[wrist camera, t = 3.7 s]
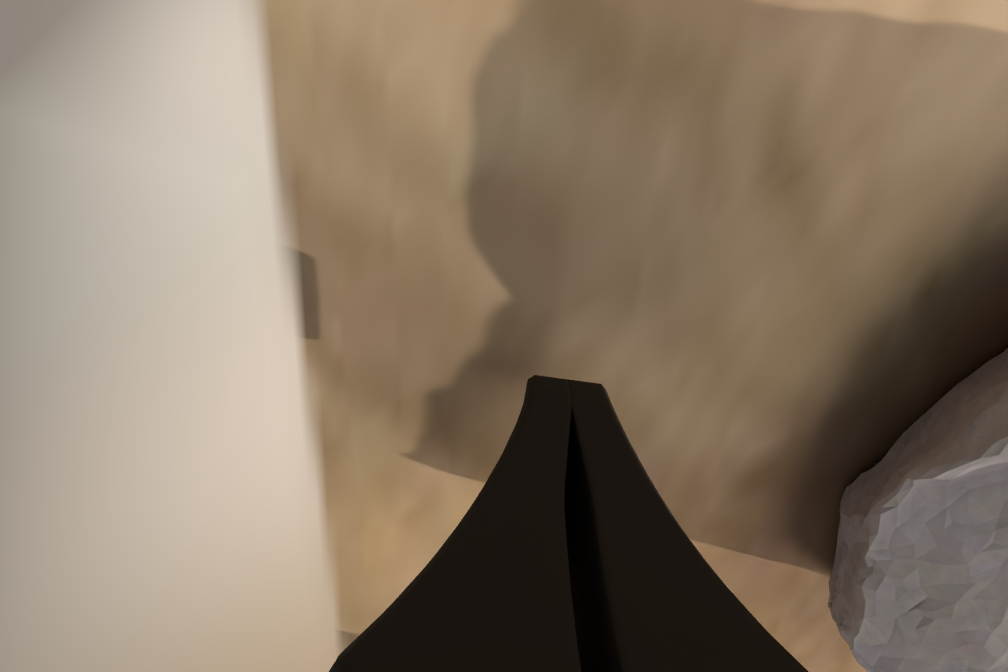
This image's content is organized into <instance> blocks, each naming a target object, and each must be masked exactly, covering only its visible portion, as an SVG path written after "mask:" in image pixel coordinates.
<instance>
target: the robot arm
mask: <svg viewBox="0 0 1008 672" xmlns="http://www.w3.org/2000/svg"><path fill="white" fill-rule="evenodd" d="M329 672H808V671H807V670H806V669H805V668H804V667H803V666H802V665H801V664H800V663H799V662H798V661H797V660H796V659H795V658H794V657H793V656H792V655H791V654H790V653H789V652H788V651H787V650H786V649H785V648H784V647H783V646H782V645H781V644H780V643H779V642H778V641H777V640H776V639H774V638H773V637H772V636H771V635H770V634H769V633H768V632H767V630H766V629H765V628H764V627H763V626H762V625H761V624H760V623H759V622H758V621H757V620H756V619H755V617H754V616H753V615H752V614H751V613H750V612H749V611H748V610H747V609H746V607H745V606H744V605H743V604H742V603H741V602H740V601H739V600H738V599H737V598H736V596H735V595H734V594H733V593H732V592H731V591H730V590H729V589H728V588H727V587H726V585H725V584H724V583H723V582H722V580H721V579H720V578H719V577H718V576H717V574H716V573H715V572H714V571H713V569H712V568H711V567H710V566H709V564H708V563H707V562H706V561H705V559H704V558H703V557H702V555H701V554H700V553H699V551H698V550H697V549H696V547H695V546H694V545H693V543H692V542H691V541H690V539H689V538H688V537H687V535H686V534H685V532H684V531H683V530H682V528H681V527H680V525H679V524H678V522H677V521H676V519H675V518H674V516H673V515H672V513H671V512H670V510H669V509H668V507H667V506H666V504H665V503H664V501H663V499H662V498H661V496H660V495H659V493H658V492H657V490H656V488H655V487H654V485H653V483H652V482H651V480H650V478H649V476H648V475H647V473H646V471H645V469H644V467H643V466H642V464H641V462H640V460H639V459H638V457H637V455H636V453H635V451H634V449H633V448H632V446H631V444H630V442H629V440H628V438H627V436H626V434H625V432H624V430H623V428H622V426H621V424H620V422H619V419H618V417H617V415H616V413H615V411H614V408H613V406H612V404H611V401H610V399H609V397H608V394H607V392H606V390H605V388H604V387H603V386H602V384H597V383H590V382H582V381H575V380H567V379H560V378H552V377H545V376H537V375H534V376H533V377H531V378H529V379H528V381H527V387H526V393H525V398H524V404H523V407H522V410H521V413H520V415H519V418H518V420H517V423H516V425H515V428H514V430H513V432H512V434H511V436H510V438H509V441H508V443H507V445H506V447H505V449H504V451H503V453H502V455H501V457H500V459H499V461H498V462H497V464H496V466H495V468H494V469H493V471H492V473H491V475H490V476H489V478H488V480H487V482H486V484H485V485H484V487H483V489H482V490H481V492H480V493H479V495H478V496H477V498H476V500H475V501H474V503H473V504H472V506H471V507H470V509H469V510H468V512H467V513H466V514H465V516H464V517H463V519H462V520H461V522H460V523H459V524H458V526H457V527H456V529H455V530H454V531H453V532H452V534H451V535H450V536H449V538H448V539H447V540H446V542H445V543H444V544H443V546H442V547H441V548H440V549H439V551H438V552H437V553H436V554H435V556H434V557H433V558H432V559H431V561H430V562H429V563H428V564H427V565H426V567H425V568H424V569H423V570H422V571H421V572H420V573H419V575H418V576H417V577H416V578H415V579H414V580H413V581H412V582H411V583H410V584H409V586H408V587H407V588H406V589H405V590H404V591H403V592H402V593H401V594H400V595H399V597H398V598H397V599H396V600H395V601H394V602H393V603H392V604H391V605H390V606H389V607H388V608H387V609H386V610H385V611H384V612H383V614H382V615H381V616H379V617H378V618H377V619H376V620H375V621H374V622H373V623H372V624H371V625H370V626H369V627H368V628H367V629H366V630H365V631H364V632H363V633H362V634H361V635H360V636H358V637H357V638H356V639H355V640H354V641H353V642H352V643H351V644H350V645H349V646H348V647H347V648H346V649H345V650H344V651H343V652H342V653H341V654H340V655H339V656H338V658H337V660H336V661H335V663H334V664H333V666H332V668H331V669H330V671H329Z"/></svg>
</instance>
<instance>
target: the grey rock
mask: <svg viewBox="0 0 1008 672" xmlns="http://www.w3.org/2000/svg"><path fill="white" fill-rule="evenodd" d="M839 511H840V523H839V529H838V538H837V546H836V554H835V559H834V565H833V569H832V573H831V576H830V580H829V591H830V597H829V603H828V607H829V608H830V611H831V615H832V618H833V620H834V621H835V622H836V623H837V626H838V629H839V632H840V635H841V636H842V637H843V639H844V640H845V641H846V642H847V643H848V645H849V646H850V649H851V651H852V653H853V655H854V657H855V658H856V660H857V661H858V662H859V663H860V664H861V665H862V666H863V667H864V668H865V669H866V670H867V671H868V672H1008V348H1007V349H1006V350H1005V351H1004V352H1003V353H1001V354H1000V355H998V356H996V357H994V358H993V359H991V360H989V361H988V362H986V363H985V364H984V365H983V366H981V367H980V368H979V369H977V370H976V371H975V372H974V373H972V374H971V375H970V376H968V377H967V378H965V379H964V380H962V381H961V382H959V383H958V384H957V385H956V386H954V387H953V388H952V389H951V390H950V391H949V392H948V393H947V394H945V395H944V396H943V397H942V398H941V399H940V400H939V401H938V402H937V403H936V404H934V405H933V406H932V407H931V408H930V409H929V410H928V411H927V412H926V413H924V414H923V415H922V416H921V417H920V418H919V419H918V420H917V421H916V422H914V423H913V424H912V425H911V426H910V427H909V428H908V429H907V430H906V431H905V432H904V433H903V434H902V435H901V436H900V437H899V439H898V440H897V441H896V442H895V443H894V445H893V446H892V447H891V448H890V450H889V451H888V453H887V454H886V455H885V457H884V458H883V459H882V460H881V461H880V462H879V463H878V464H877V465H875V466H874V467H873V468H872V469H870V470H869V471H866V472H863V473H861V474H860V475H859V477H858V478H857V479H856V480H855V481H854V482H853V483H852V484H850V485H849V486H847V487H846V489H845V491H844V494H843V496H842V499H841V502H840V508H839Z"/></svg>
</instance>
